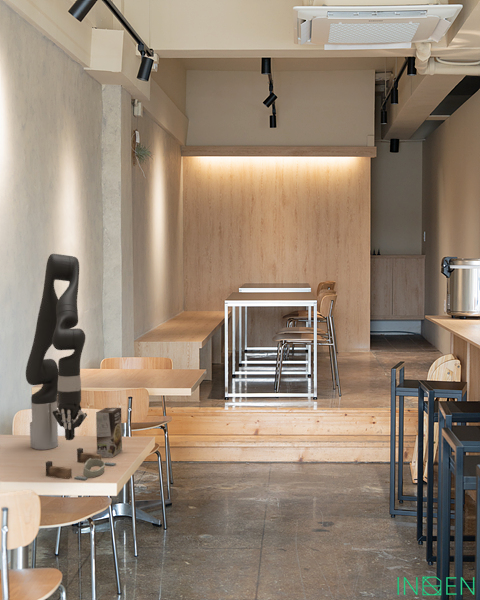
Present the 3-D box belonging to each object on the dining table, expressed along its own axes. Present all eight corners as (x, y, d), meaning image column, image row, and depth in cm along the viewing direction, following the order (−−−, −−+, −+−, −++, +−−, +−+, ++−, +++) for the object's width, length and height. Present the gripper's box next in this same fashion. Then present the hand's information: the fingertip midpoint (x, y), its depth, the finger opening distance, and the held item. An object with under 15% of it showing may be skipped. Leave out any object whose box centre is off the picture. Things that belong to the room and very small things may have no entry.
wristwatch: (92, 469, 216) (91, 454, 216) (109, 470, 214) (109, 455, 214) (78, 477, 207) (78, 462, 207) (96, 479, 205) (96, 463, 205)
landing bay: (74, 479, 205) (74, 477, 205) (106, 463, 221) (105, 462, 221) (84, 480, 204) (84, 478, 204) (115, 465, 220) (115, 463, 220)
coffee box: (113, 457, 229) (112, 412, 228) (96, 457, 230) (95, 412, 229) (123, 450, 238) (121, 407, 237) (106, 450, 239) (105, 406, 238)
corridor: (45, 475, 209) (45, 462, 209) (79, 460, 226) (79, 448, 226) (68, 478, 206) (68, 464, 205) (101, 463, 222) (101, 450, 222)
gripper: (45, 388, 214) (46, 440, 215) (78, 392, 208) (78, 445, 209) (60, 384, 220) (61, 434, 221) (92, 388, 215) (93, 439, 216)
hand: (69, 439), depth 215 cm, fingers closed
